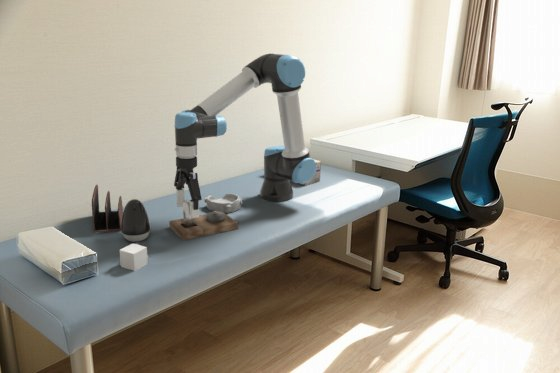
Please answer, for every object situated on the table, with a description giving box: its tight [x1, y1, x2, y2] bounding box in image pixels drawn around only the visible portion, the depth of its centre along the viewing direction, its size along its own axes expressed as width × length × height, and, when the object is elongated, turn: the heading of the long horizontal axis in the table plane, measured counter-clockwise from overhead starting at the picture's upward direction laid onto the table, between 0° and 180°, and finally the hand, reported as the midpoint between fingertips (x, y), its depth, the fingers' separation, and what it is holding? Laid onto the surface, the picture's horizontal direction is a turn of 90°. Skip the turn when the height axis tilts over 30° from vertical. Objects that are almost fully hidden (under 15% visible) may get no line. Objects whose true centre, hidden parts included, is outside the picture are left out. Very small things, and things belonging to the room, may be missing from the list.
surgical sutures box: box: [290, 158, 322, 187], centre depth 264 cm, size 25×11×11 cm, turn 47°
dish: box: [203, 192, 243, 214], centre depth 221 cm, size 14×14×5 cm
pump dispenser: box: [120, 198, 152, 243], centre depth 186 cm, size 10×10×15 cm
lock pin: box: [182, 199, 194, 228], centre depth 194 cm, size 4×4×12 cm
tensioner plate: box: [168, 211, 239, 241], centre depth 198 cm, size 22×14×6 cm, turn 122°
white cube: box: [119, 242, 149, 272], centre depth 168 cm, size 6×6×6 cm
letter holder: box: [91, 184, 124, 234], centre depth 201 cm, size 10×20×14 cm, turn 14°
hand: (187, 211), depth 193 cm, fingers open, 13 cm apart
